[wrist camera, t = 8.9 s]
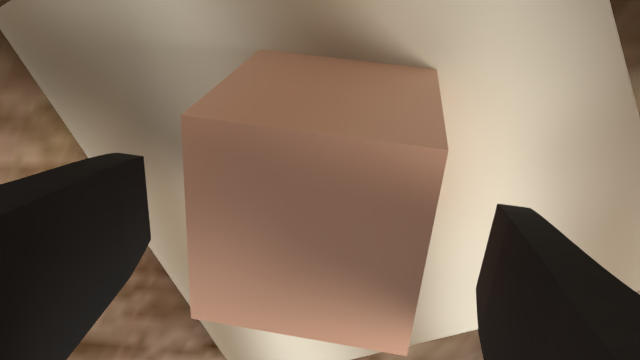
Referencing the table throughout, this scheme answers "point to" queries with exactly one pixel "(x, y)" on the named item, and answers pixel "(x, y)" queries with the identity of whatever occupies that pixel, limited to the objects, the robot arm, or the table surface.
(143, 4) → the post board
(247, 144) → the salmon pink cube
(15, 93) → the table surface
